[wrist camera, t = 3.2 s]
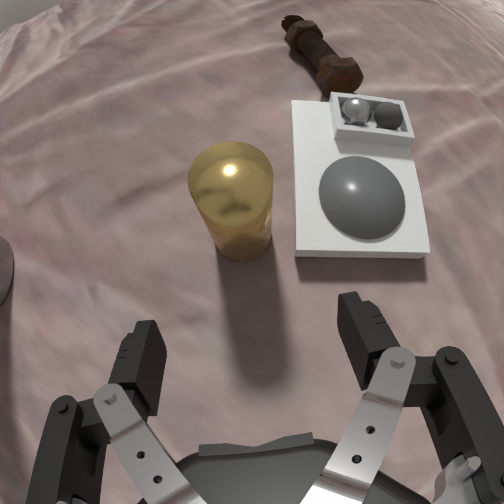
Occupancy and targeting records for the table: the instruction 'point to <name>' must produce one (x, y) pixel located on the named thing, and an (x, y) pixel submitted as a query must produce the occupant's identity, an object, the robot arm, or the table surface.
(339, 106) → the plate
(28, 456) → the table surface
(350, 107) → the steel ball
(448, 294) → the table surface
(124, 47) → the table surface
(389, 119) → the rubber ball
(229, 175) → the ball
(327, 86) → the bolt
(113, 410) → the robot arm
